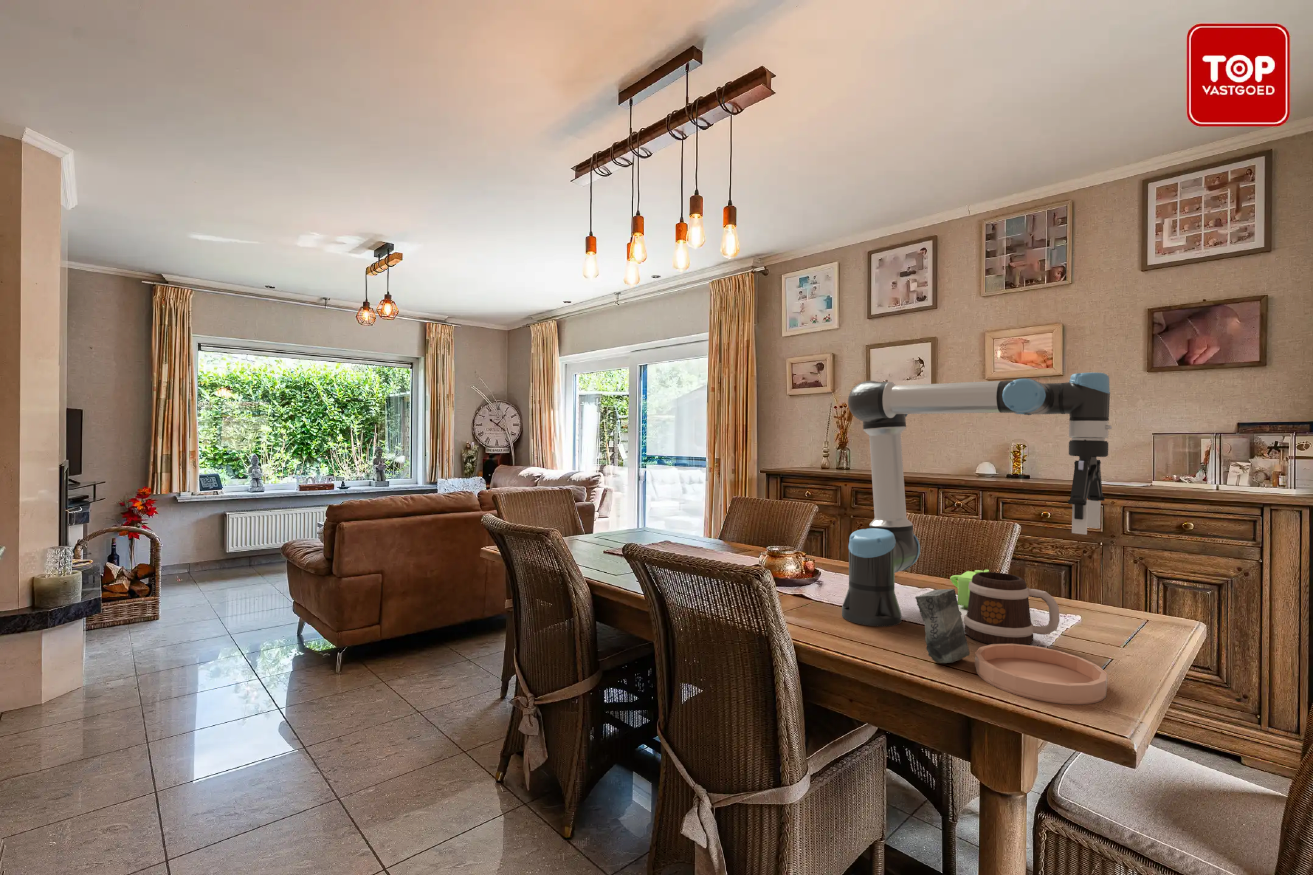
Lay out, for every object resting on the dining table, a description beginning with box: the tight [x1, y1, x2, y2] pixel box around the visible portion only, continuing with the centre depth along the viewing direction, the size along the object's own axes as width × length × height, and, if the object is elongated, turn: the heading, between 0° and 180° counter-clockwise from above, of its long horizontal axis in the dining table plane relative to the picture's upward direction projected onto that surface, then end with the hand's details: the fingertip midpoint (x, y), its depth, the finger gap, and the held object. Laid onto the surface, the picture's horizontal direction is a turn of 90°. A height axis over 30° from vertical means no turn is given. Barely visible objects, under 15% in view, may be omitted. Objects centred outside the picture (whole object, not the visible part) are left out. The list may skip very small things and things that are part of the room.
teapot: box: [949, 569, 990, 609], centre depth 173 cm, size 15×13×11 cm
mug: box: [963, 571, 1060, 646], centre depth 145 cm, size 20×15×15 cm
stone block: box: [914, 588, 971, 664], centre depth 132 cm, size 9×14×5 cm
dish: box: [974, 644, 1108, 706], centre depth 121 cm, size 22×22×4 cm
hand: (1086, 530), depth 141 cm, fingers open, 13 cm apart
